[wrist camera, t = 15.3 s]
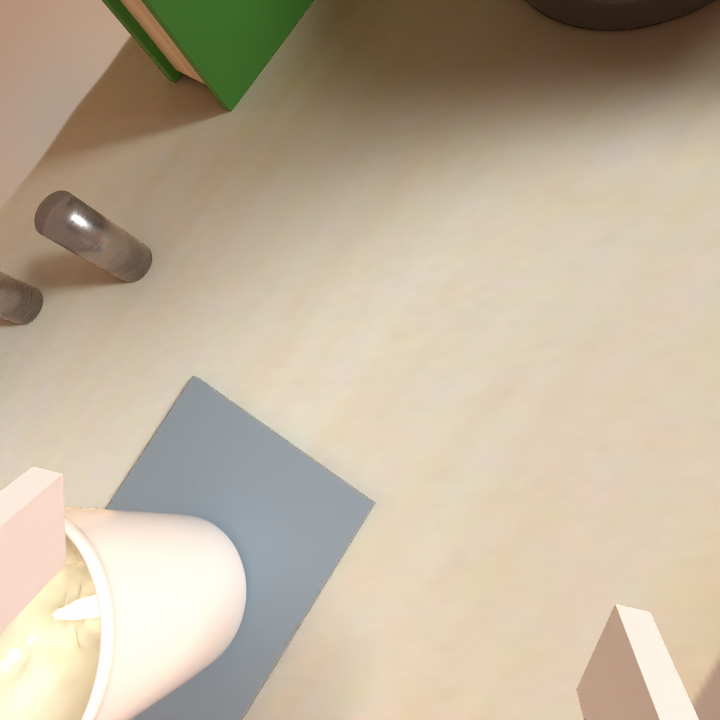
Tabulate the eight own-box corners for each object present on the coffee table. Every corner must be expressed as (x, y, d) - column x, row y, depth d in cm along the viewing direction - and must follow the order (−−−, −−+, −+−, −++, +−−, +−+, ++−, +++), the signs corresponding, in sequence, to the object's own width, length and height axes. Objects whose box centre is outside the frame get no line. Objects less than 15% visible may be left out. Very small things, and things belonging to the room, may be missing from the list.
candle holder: (270, 507, 30) (127, 513, 19) (250, 704, 28) (75, 839, 17) (121, 495, 33) (-80, 493, 22) (93, 674, 31) (-148, 773, 20)
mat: (198, 377, 35) (192, 375, 34) (375, 502, 30) (372, 502, 29) (36, 625, 34) (28, 627, 33) (190, 803, 28) (183, 808, 28)
